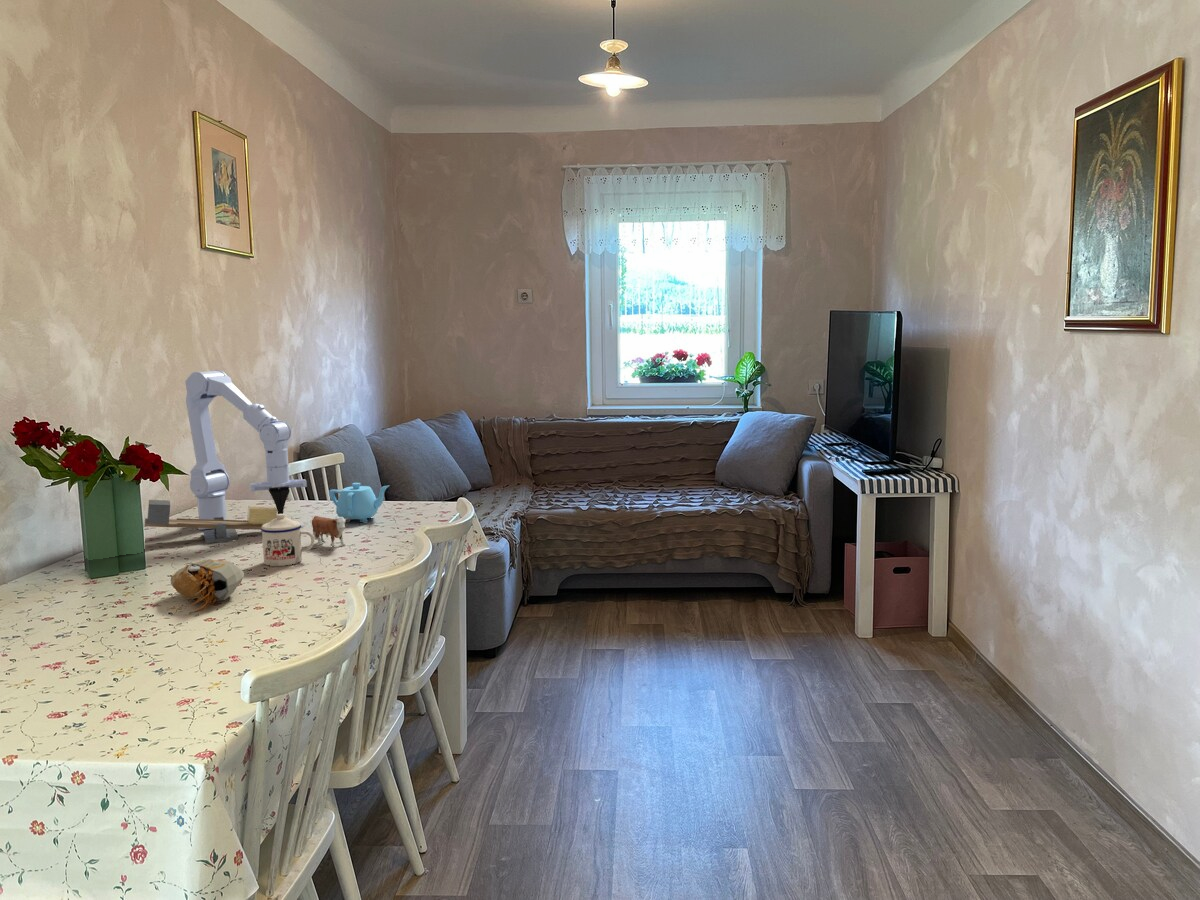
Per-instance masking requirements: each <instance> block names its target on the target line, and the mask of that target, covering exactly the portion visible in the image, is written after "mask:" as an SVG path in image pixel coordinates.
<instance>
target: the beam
mask: <svg viewBox="0 0 1200 900" xmlns="http://www.w3.org/2000/svg"><path fill="white" fill-rule="evenodd" d="M147 507H148V508H147V518H144V519H145V520H144V527H147V528H149V527H151V528H154V527H155V528H183V529H184V528H186V529H189V528H190V529H198V528H213V529H214V528H216V524H220V523H226V529H235V530H255V531H256V530H257V531H259V530H260V531H261V527H262V525H248V524H247V519H246V520H243V519H242V520H241V519H226V520H215V519H199V518H180V517H177V518H175V519H173V518H170V513H171V500H166V499H165V500H163V499H148V505H147Z"/></svg>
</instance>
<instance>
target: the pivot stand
mask: <svg viewBox="0 0 1200 900" xmlns="http://www.w3.org/2000/svg"><path fill="white" fill-rule="evenodd" d="M214 519H215V520H224V519H223V517H214ZM202 532H203V534H204V535H203V537H204V538H205V539H204V538H203V539H204V542H205V544H206V543H208V544H215V542H217V543H226V541H227V542H234V541H233V540H236V541H239V535H238V533H237V529H226V523H220V524H216V528H213V529H207V530H203V531H202Z"/></svg>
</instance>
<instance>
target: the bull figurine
mask: <svg viewBox="0 0 1200 900" xmlns="http://www.w3.org/2000/svg"><path fill="white" fill-rule="evenodd" d="M349 520H350V521H351V519H349V518H347V519H344V518H343V517H339V516H337V517H325V516H324V517H323V516H318V515H315V516H314V517H312V520H311V527H312V534H313V535H314V539H315V540H314V541H316V540H317V544H318V546H323V545H324V543H325V542H326V540H325V539H324V535H325V537H326V538H328V537H329V536H330V540H331V543H330V547H331V546H332V547H331V548H335V547H336V545H335V542H334V541H335V539H339V541H340V545H341V547H345V546H344V545H346V544H345V542H344V536H343V532H344V531H345V530H346V526H345V525H346V523H345V522H348V521H349ZM322 542H324V543H322ZM334 546H335V547H334Z"/></svg>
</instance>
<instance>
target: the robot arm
mask: <svg viewBox="0 0 1200 900" xmlns="http://www.w3.org/2000/svg"><path fill="white" fill-rule="evenodd" d="M184 383H185V388H186V397H185V403H186V404H185V405H186V411H187V416H188V422H189V427H190V433H191V439H192V444H193V449H194V456H195V460H196V461H195V465H194V466H193V467H192V469H191V470H190V471H189V472H190V479H189V487H190V488H189V489H190V491H191V493H192V494H193V495H194V497H195V498H196V500H197V515H198V519H214V517H223V519H224V520H227V509H226V496H225V495H226V494H227V490H228V489H229V487H230V486H231V485H230V484H231V479H230V476H229V474H228V473H227V470H226V467H225V464H224V463H222V462H220V461H219V460H218V457H217V456H218V455H217V449H216V444H215V443H216V441H215V438H214V437H215V436H214V432H213V426H212V419H211V414H210V408H209V405H210V404H211V402H213V400H214V399H215V398H217V397H218V396H220V397H222V398H224V399H225V400H226V401H227V402H229V403H230V404H232V406H234V407H235V408H237V409H238V410H239V411H241V412H242V418H243V420H244V421H245V422H247V423H248V424H249V426H251V427H252V428H253V429H254V430H255V431H256V432H258V434H259V435H258V436H259V438H260V441H261V442H262V444H263V449H264V451H265V467H266V481H262V482H261V481H260V482H254V483H249V490H250V492H259V491H268V493H269V494H270V496H271V498H272V500H273V502H274V505H275V508H276V509H277V514H284V509H285V505H286V502H287V498H288V497H289V495H290V489H292V488H306V487H308V485H307V483H308V482H307V480H306V479H305V478H304V479H290V470H289V469H290V467H289V452H288V450H289V449H288V441H289V439H290V438H291V436H292V429H291V427H290V425H289V424H288V423H287V422H286V421H284V420H279V419H278V418H277V417H276V416H273V415H272V414H271V413H270V412H269V411H267V410H266V407H265V406H264V404H259V403H253V402H251V400H249V399H248V398H247V397H246V396H245V395H244V393H243V392H241V390H240V389H239V388H238V387H237V386H236V385H235V384H234V383H233V382H232V378H231V377H230V376H229V375H227V374H226V372H224V371H223V370H218V369H217V370H216V369H215V370H212V371H211V370H209V371H194V372H191V374H189V376H188V377H187V379H185V382H184ZM197 529H198V531H199V530H200V531H202V530H203V531H204V530H214V528H197Z"/></svg>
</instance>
